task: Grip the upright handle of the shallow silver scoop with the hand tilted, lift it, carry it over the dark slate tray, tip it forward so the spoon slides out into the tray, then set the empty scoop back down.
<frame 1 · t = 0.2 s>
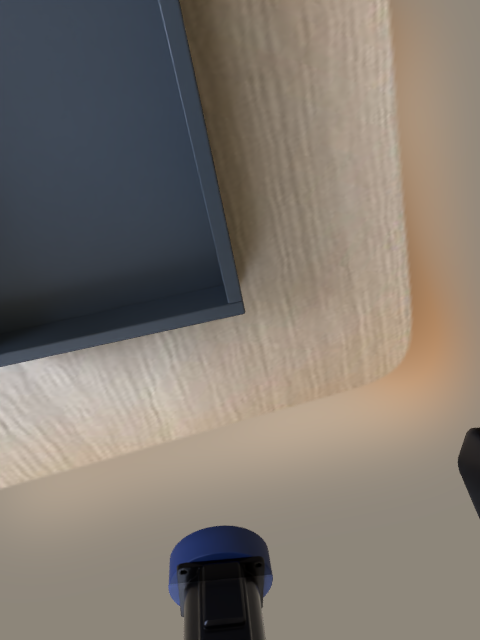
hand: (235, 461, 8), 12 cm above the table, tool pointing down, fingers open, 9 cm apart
tray: (40, 142, 16), on the table
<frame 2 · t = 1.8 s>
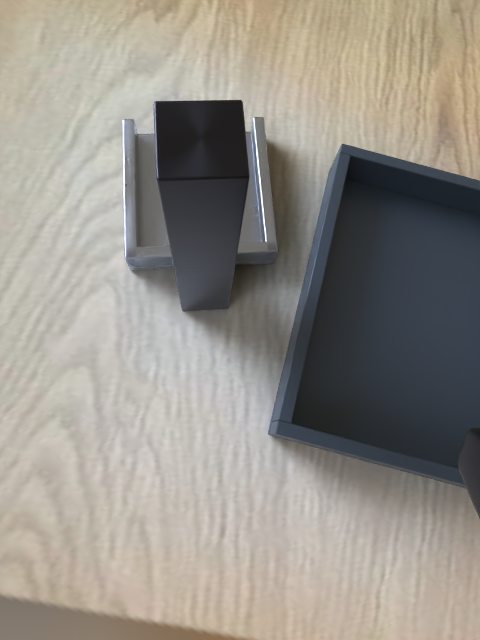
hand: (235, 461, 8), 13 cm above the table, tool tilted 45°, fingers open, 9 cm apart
tray: (412, 321, 23), on the table
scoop: (204, 288, 23), on the table, touching spoon
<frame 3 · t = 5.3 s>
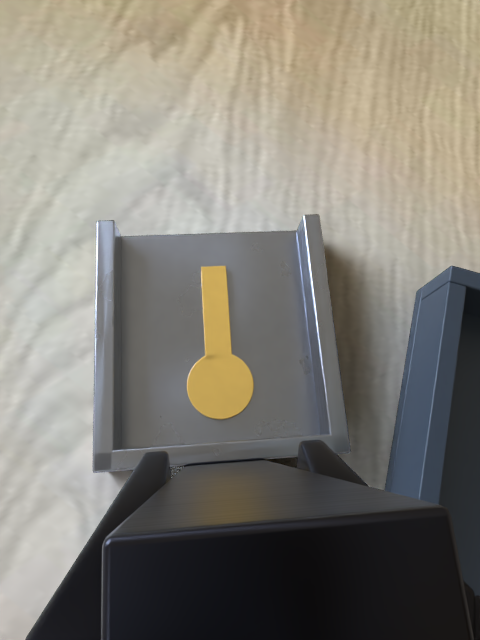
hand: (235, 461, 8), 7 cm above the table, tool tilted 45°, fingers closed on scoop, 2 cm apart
spoon: (217, 339, 15), resting on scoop
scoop: (225, 500, 14), on the table, touching gripper, spoon
when the fingers open (7 cm above the table, at t = 15.8 s): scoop stays where it is, on the table.
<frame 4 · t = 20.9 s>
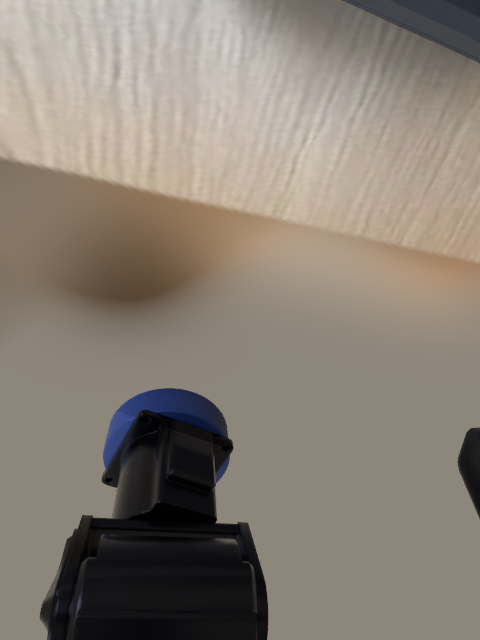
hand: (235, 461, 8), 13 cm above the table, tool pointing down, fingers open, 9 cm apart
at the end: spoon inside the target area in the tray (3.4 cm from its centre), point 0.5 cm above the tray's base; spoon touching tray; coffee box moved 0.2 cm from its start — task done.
